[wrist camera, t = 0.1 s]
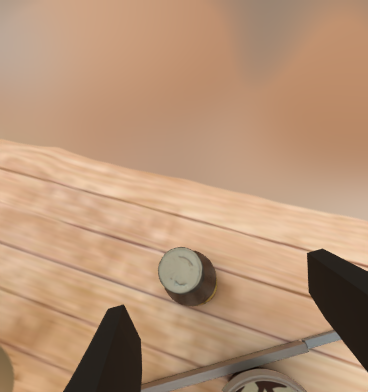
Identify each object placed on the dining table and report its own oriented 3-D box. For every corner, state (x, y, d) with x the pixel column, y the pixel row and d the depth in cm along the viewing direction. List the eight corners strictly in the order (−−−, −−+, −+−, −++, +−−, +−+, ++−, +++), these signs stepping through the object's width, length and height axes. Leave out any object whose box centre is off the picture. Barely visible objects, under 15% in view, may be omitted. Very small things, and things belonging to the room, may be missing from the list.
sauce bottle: (205, 257, 42) (200, 220, 23) (223, 293, 39) (234, 284, 21) (170, 275, 41) (137, 251, 23) (187, 313, 39) (165, 320, 20)
